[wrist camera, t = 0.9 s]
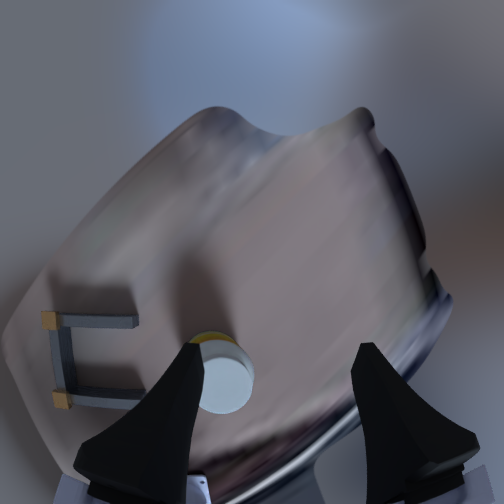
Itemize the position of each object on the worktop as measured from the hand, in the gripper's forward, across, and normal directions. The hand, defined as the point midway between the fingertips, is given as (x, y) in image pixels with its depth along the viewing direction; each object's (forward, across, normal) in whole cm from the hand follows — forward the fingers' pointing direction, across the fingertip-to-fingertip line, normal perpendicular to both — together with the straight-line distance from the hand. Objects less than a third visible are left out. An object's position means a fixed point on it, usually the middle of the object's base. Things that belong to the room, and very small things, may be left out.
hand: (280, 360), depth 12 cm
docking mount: (+7, +16, +10) cm, 20 cm away
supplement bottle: (+10, +6, +11) cm, 15 cm away
